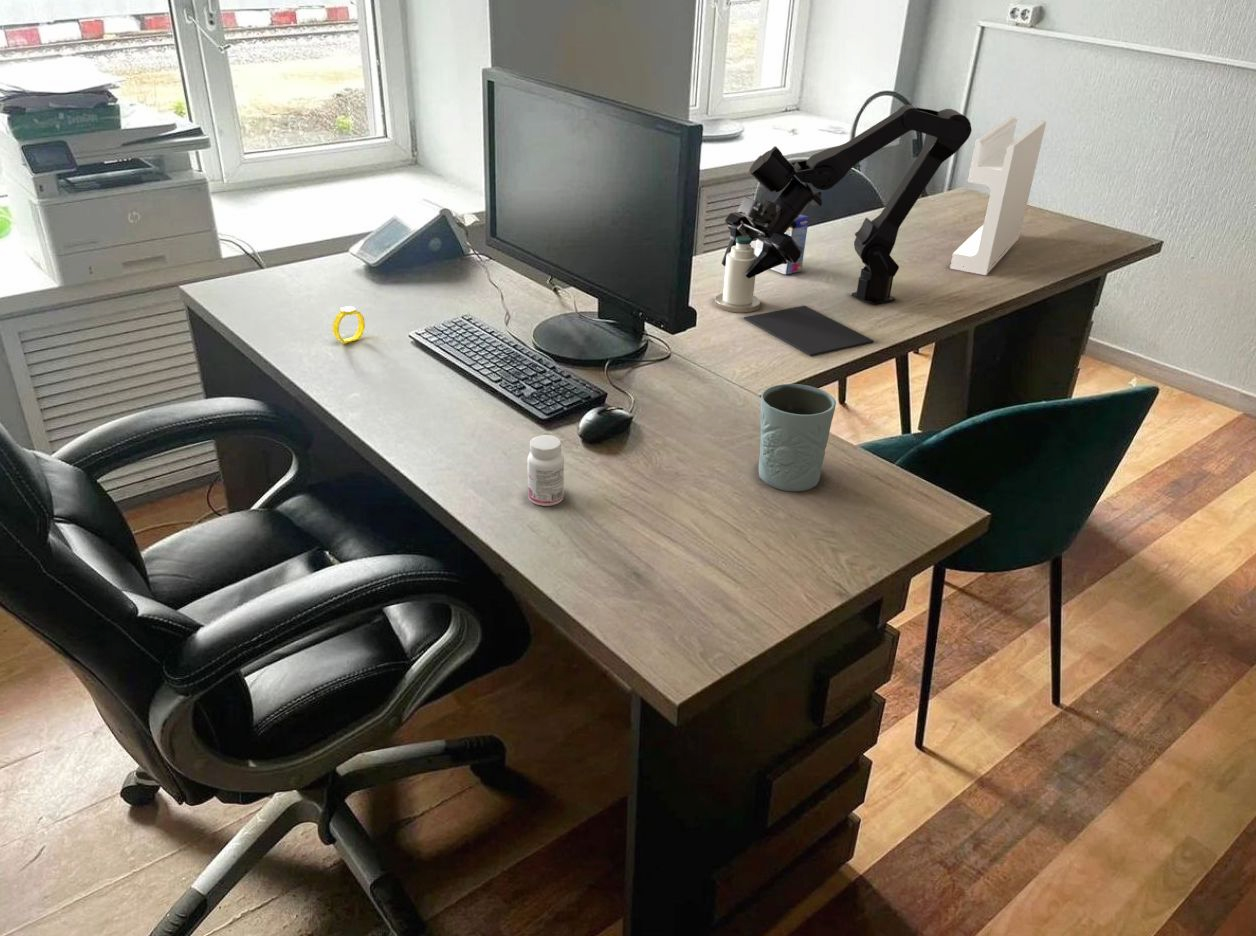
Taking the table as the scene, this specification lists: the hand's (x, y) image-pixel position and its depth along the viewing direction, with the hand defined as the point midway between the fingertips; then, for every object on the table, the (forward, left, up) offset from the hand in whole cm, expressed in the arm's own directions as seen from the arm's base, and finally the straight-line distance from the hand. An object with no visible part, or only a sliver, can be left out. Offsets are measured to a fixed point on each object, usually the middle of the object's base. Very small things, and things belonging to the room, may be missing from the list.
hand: (734, 270), depth 196 cm
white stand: (-77, -4, -7) cm, 77 cm away
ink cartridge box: (-23, -15, -7) cm, 29 cm away
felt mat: (-5, +17, -7) cm, 19 cm away
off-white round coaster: (-1, 0, -7) cm, 7 cm away
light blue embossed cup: (+33, +59, -7) cm, 68 cm away
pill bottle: (+66, +49, -7) cm, 82 cm away
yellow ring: (+73, -14, -7) cm, 74 cm away
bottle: (-1, 0, -6) cm, 6 cm away
